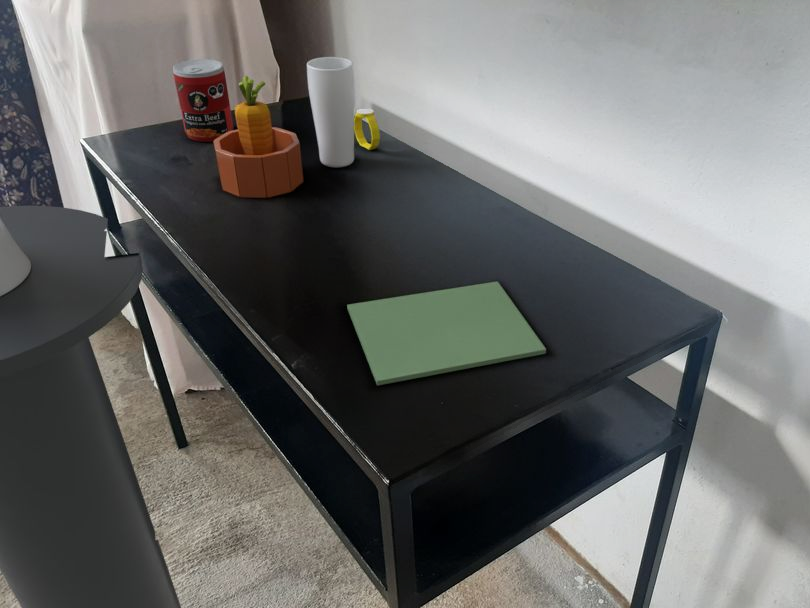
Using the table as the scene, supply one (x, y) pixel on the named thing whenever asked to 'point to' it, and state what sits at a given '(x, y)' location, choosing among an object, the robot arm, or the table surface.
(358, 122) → the watch
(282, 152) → the pot
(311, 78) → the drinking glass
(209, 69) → the canned food
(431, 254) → the table surface
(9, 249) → the robot arm
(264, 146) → the carrot
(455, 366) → the mat
